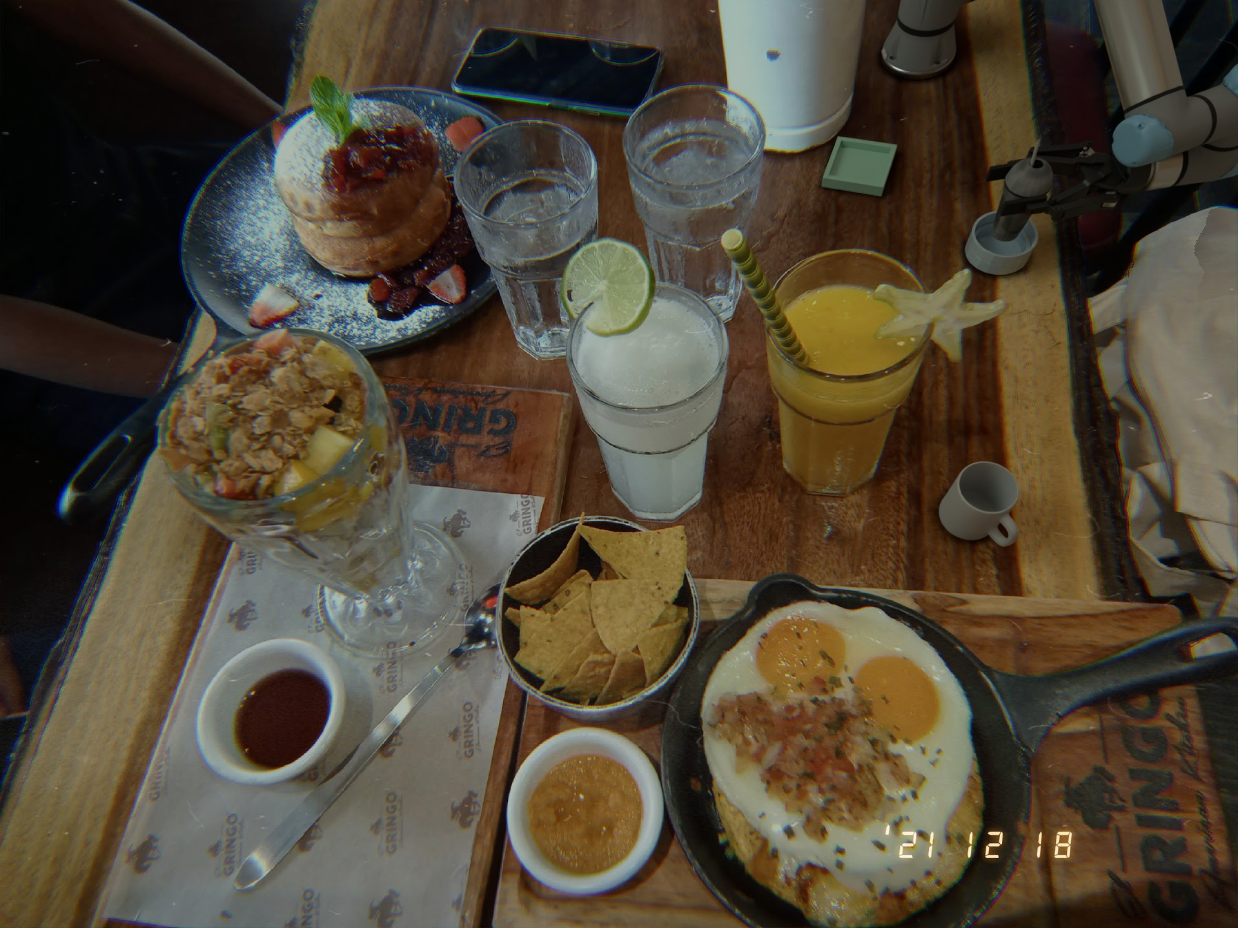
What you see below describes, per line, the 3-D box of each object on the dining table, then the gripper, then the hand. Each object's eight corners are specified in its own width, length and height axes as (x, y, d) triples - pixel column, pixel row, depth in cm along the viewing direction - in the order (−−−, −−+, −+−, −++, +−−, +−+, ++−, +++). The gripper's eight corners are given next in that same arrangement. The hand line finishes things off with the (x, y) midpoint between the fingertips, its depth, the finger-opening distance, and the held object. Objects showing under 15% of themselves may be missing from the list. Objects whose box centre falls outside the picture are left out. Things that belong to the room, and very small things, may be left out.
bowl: (970, 225, 139) (978, 205, 135) (1032, 236, 136) (1042, 216, 132) (959, 269, 135) (966, 250, 131) (1023, 281, 132) (1033, 262, 128)
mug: (926, 506, 117) (944, 477, 107) (971, 481, 117) (993, 450, 107) (976, 569, 111) (999, 544, 101) (1023, 542, 112) (1051, 516, 102)
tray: (836, 145, 153) (837, 136, 151) (895, 154, 150) (897, 144, 148) (821, 186, 149) (822, 177, 147) (881, 196, 146) (883, 187, 143)
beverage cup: (1027, 249, 129) (1074, 158, 111) (983, 246, 131) (1022, 156, 113) (1026, 217, 132) (1071, 124, 114) (983, 216, 133) (1021, 123, 116)
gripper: (1152, 230, 119) (1006, 252, 121) (1106, 144, 128) (971, 166, 130) (1177, 195, 112) (1022, 219, 114) (1127, 107, 121) (984, 131, 123)
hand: (995, 191), depth 122 cm, fingers closed on beverage cup, 7 cm apart
